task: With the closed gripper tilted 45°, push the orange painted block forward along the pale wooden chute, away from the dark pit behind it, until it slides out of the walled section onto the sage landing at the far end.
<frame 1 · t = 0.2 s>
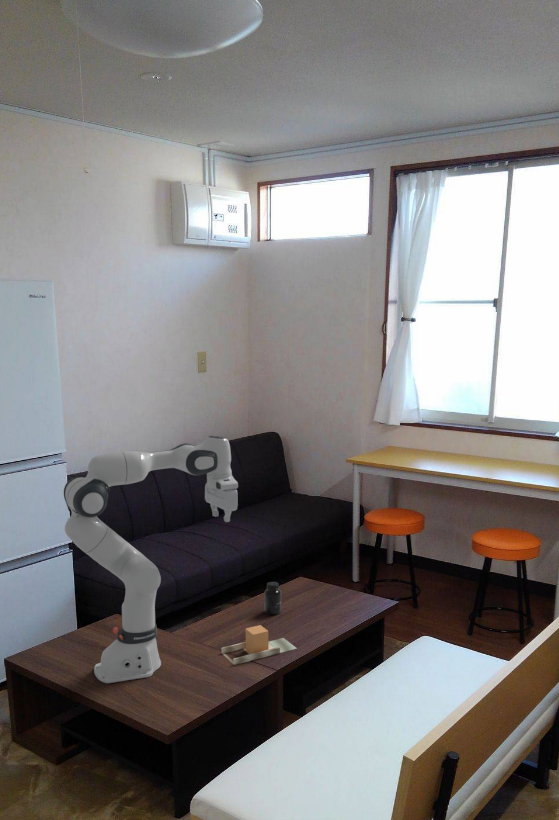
hand: (221, 518, 252), 48 cm above the table, tool pointing down, fingers open, 8 cm apart
orange block: (257, 651, 250), point 1 cm above the table, touching chute
supplement bottle: (272, 612, 289), on the table
chute: (259, 654, 250), on the table
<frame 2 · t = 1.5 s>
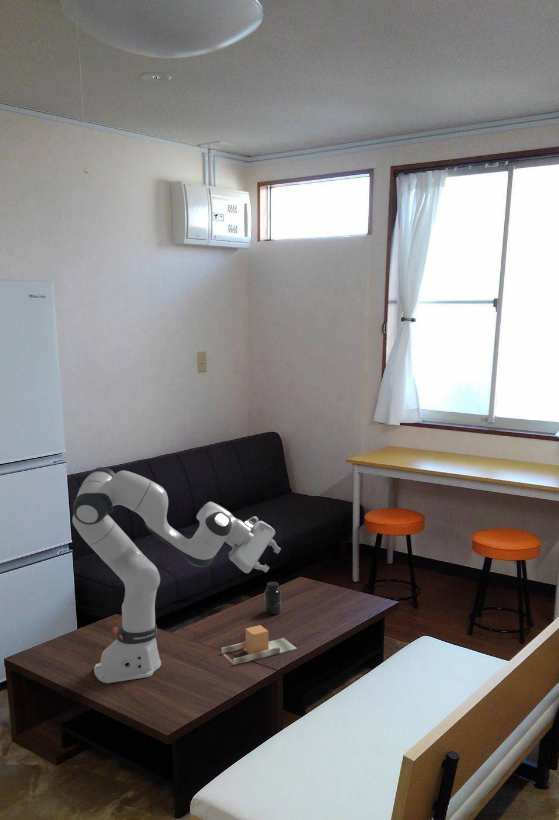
hand: (273, 560, 237), 38 cm above the table, tool tilted 55°, fingers open, 8 cm apart
nothing on the table moved.
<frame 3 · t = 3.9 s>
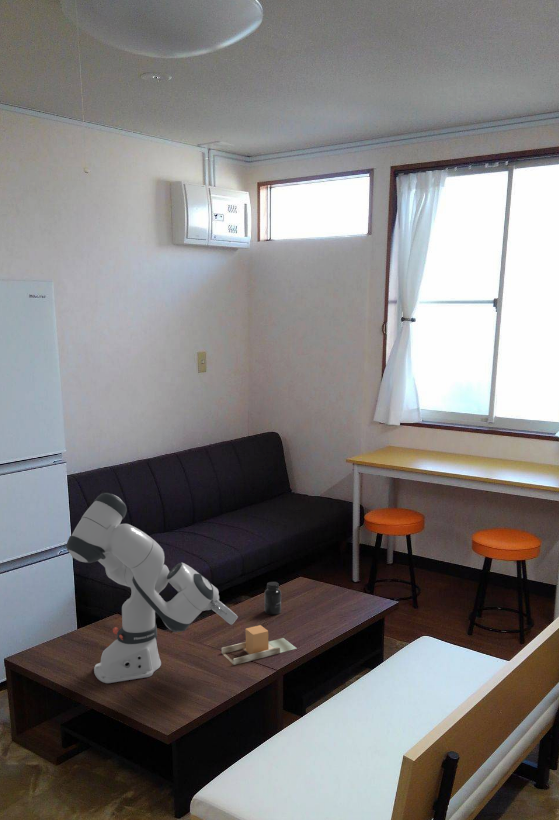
hand: (232, 618, 243), 16 cm above the table, tool tilted 45°, fingers closed
nothing on the table moved.
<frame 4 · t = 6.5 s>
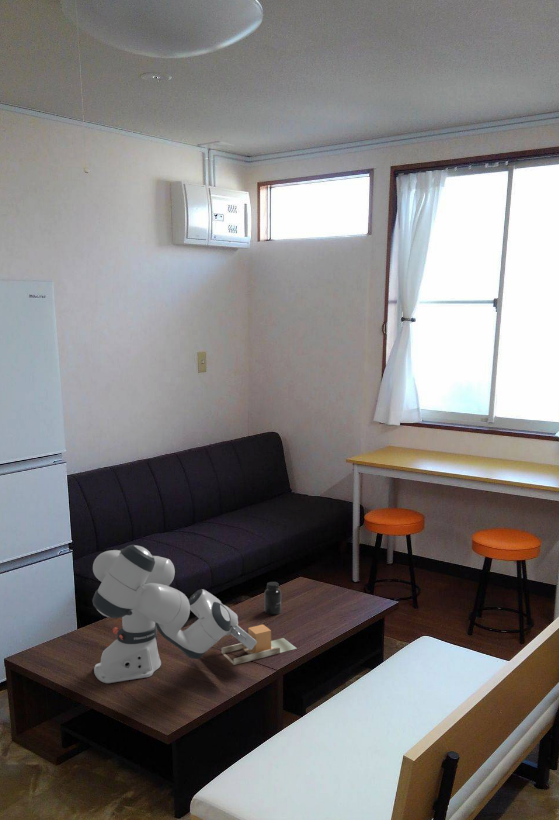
hand: (251, 643, 248), 5 cm above the table, tool tilted 45°, fingers closed
orange block: (259, 650, 250), point 2 cm above the table
everything else where it was.
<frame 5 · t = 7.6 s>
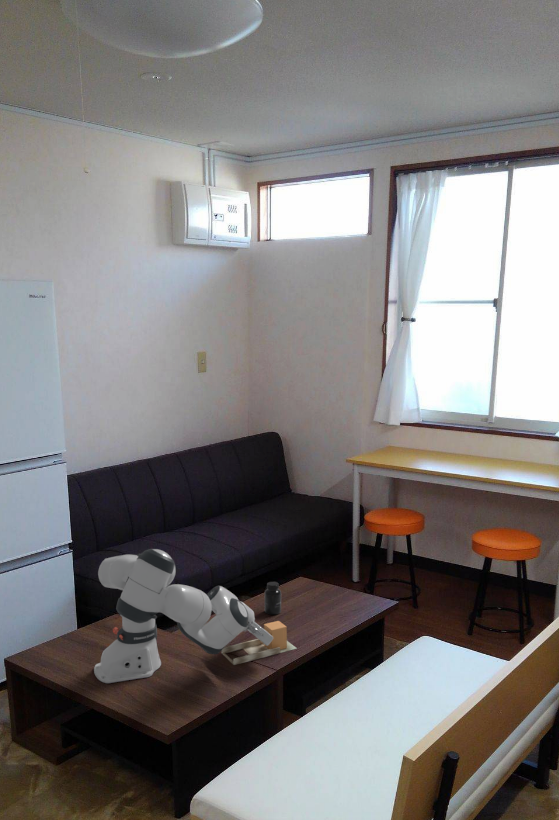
hand: (266, 639, 251), 5 cm above the table, tool tilted 45°, fingers closed, pressing on orange block
orange block: (275, 646, 253), point 2 cm above the table, touching gripper
everything else where it was.
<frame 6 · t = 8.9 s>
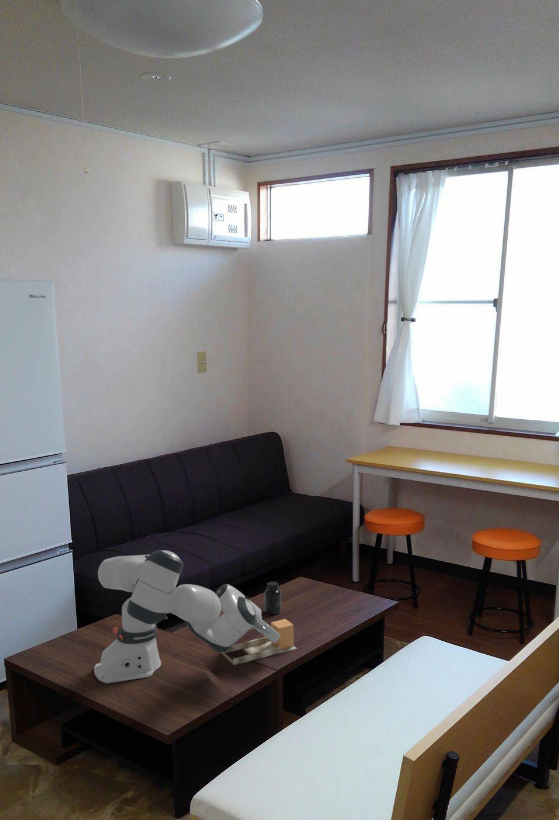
hand: (273, 636, 253), 5 cm above the table, tool tilted 45°, fingers closed, pressing on orange block
orange block: (282, 644, 255), point 1 cm above the table, touching chute, gripper
everything else where it was.
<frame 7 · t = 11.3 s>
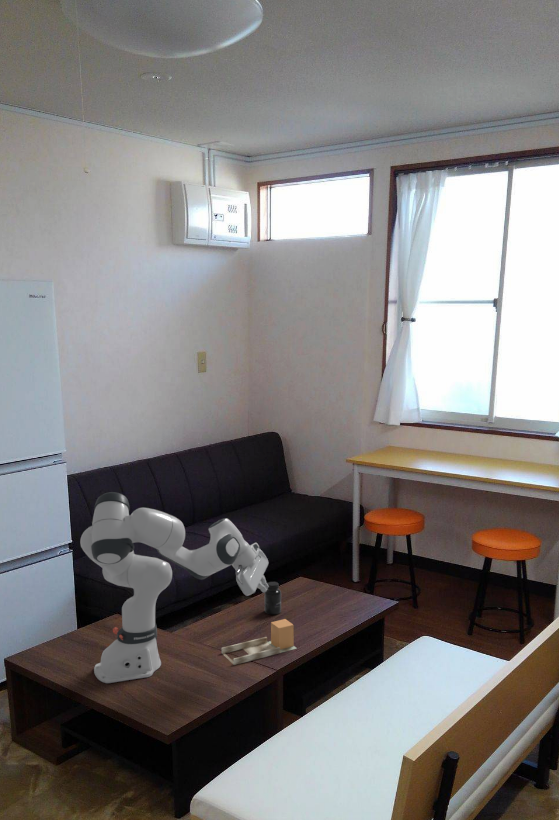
hand: (266, 589, 244), 25 cm above the table, tool tilted 35°, fingers closed
orange block: (282, 644, 255), point 1 cm above the table, touching chute
everything else where it was.
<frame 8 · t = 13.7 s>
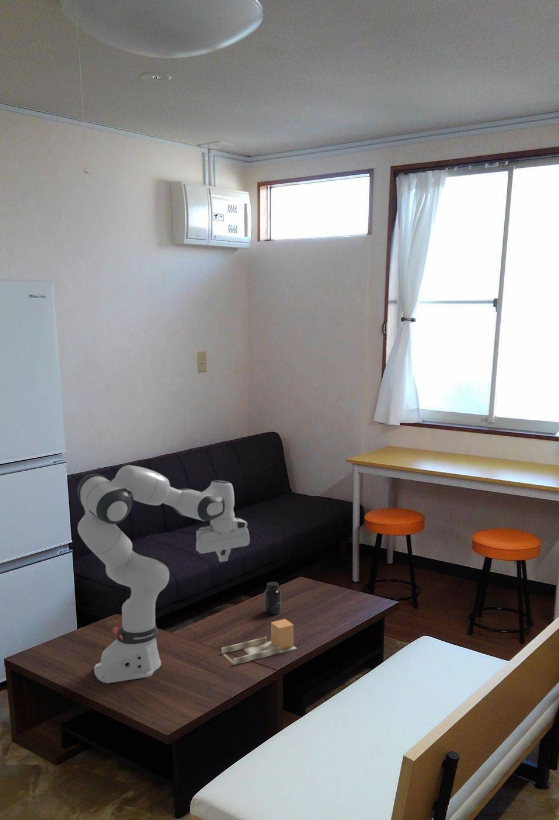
hand: (223, 560, 257), 31 cm above the table, tool pointing down, fingers closed
nothing on the table moved.
at the end: orange block 0.5 cm from the target spot on the chute, point 1.5 cm above the chute's base; orange block tilted 0° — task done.
